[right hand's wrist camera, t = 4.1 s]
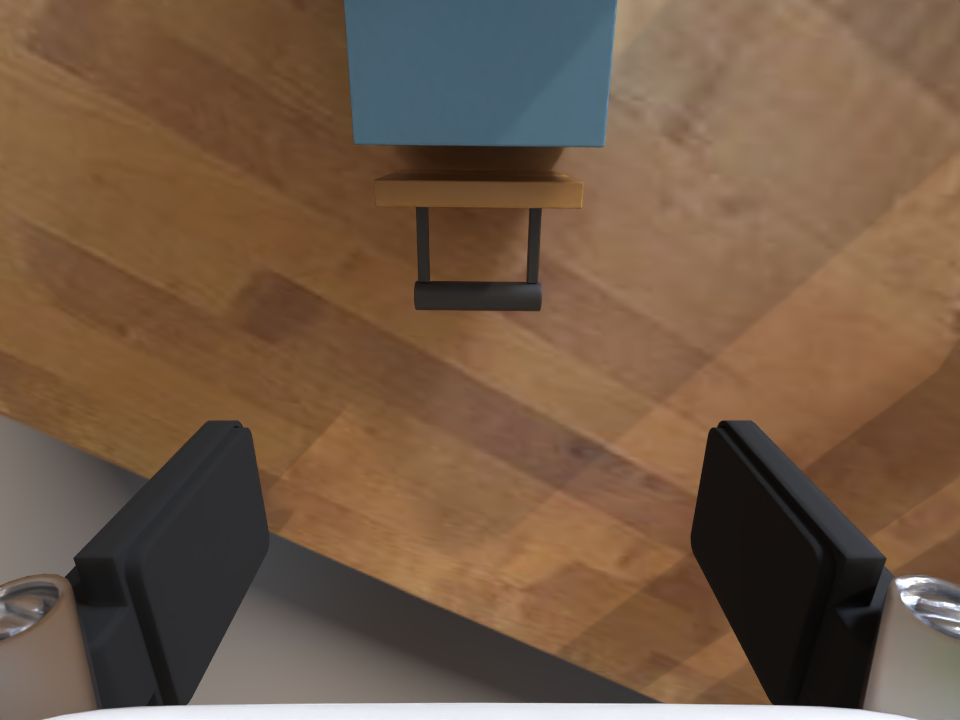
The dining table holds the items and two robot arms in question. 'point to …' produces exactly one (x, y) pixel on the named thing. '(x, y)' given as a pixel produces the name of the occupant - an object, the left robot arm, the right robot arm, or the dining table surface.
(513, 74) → the cabinet
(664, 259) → the dining table surface
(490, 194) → the drawer
